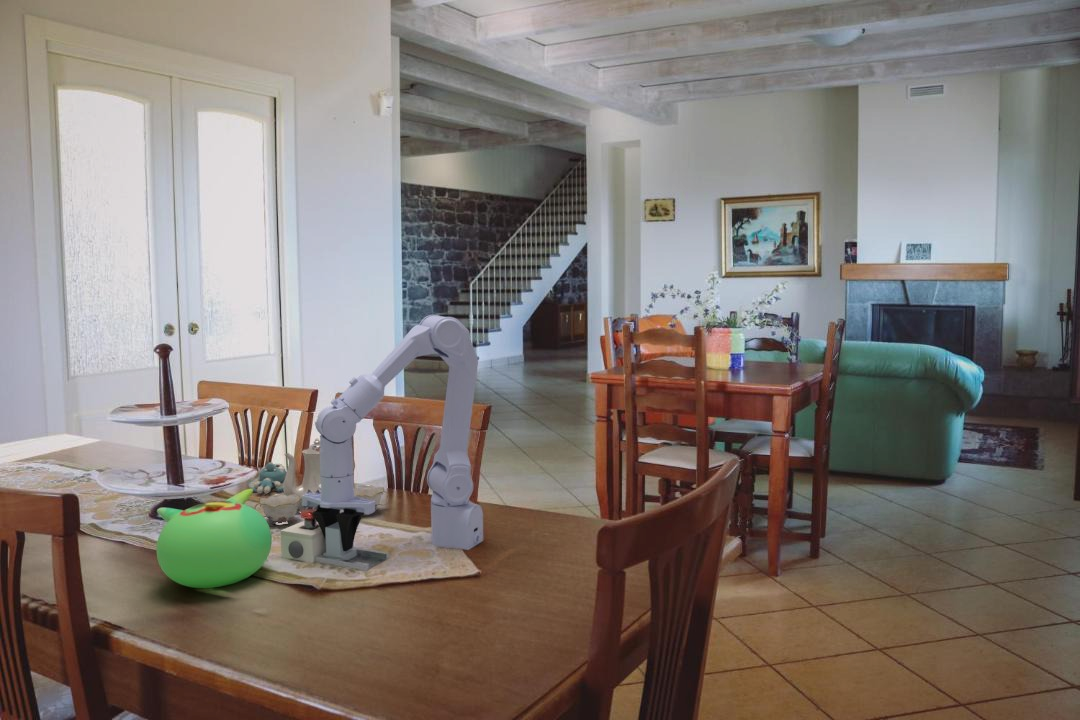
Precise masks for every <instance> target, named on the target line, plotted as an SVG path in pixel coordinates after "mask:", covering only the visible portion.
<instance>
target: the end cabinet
mask: <svg viewBox="0 0 1080 720" xmlns="http://www.w3.org/2000/svg"><path fill="white" fill-rule="evenodd" d="M280 551H281V552H280V553H281V554H280V555H281V559H288V560H295V561H300V562H306V563H310V564H314V563H316V562H315V558H314V557H315V556H317V555H319V556H323V553H325V552H326V542H325V538H324V535H323V533H322V530H321V528H320V526H319V524H318V522H317V528H316V529H314V530H307V529H305V527H304V520H303V521H300V522H297V523H296V524H293V525H290V526H289V527H286V528H284V529H281V530H280Z"/></svg>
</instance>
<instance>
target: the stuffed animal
mask: <svg viewBox="0 0 1080 720" xmlns="http://www.w3.org/2000/svg"><path fill="white" fill-rule="evenodd" d="M286 473H287V470H286V469H285V466H284V465H283V463H273V462H268V463H267V464H265V465H264V466H263V467H261V468H260V470H259V476H257V477H256V478H254V479H252V480H250V481H249V482H247V487H248V489H253V493H257V494H263V493H264V494H269V493H270V492H271V490H272V489H274V492H280V493H281V492H284V488H283V486H284V480H285V476H286Z"/></svg>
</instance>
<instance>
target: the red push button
mask: <svg viewBox="0 0 1080 720" xmlns="http://www.w3.org/2000/svg"><path fill="white" fill-rule="evenodd" d="M316 510H317V509H308V510H303V511H301V514H300V518H301V519H303V521H304V527H305V529H307V530H314V529H316V528H317V521H316V519H315V518H314V517H313V512H314V511H316Z"/></svg>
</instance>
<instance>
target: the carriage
mask: <svg viewBox="0 0 1080 720" xmlns="http://www.w3.org/2000/svg"><path fill="white" fill-rule="evenodd" d="M325 532H326V552H325V553H323V556H325V557H331V558H337V559H343V560H349V559H351V558H354V557H355V556H357V549H354V547H355V545H354V544H353V547H352V549H350V550H348V551H343V548H342V541H341V532H340V527H339V524H338V522H337V523H334V524H332V525H330V526H328V527H325Z"/></svg>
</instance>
